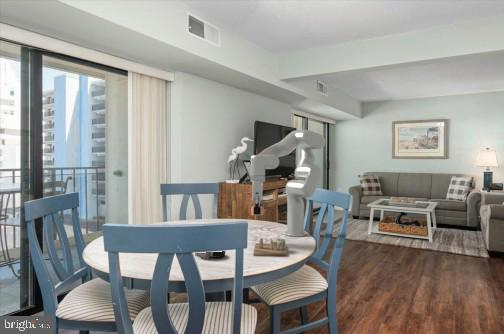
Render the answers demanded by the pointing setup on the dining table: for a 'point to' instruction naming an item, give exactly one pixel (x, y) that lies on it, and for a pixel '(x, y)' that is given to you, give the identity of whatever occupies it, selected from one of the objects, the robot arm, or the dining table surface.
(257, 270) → the dining table surface
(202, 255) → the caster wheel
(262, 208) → the terracotta gear
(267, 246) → the gear board
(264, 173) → the robot arm
